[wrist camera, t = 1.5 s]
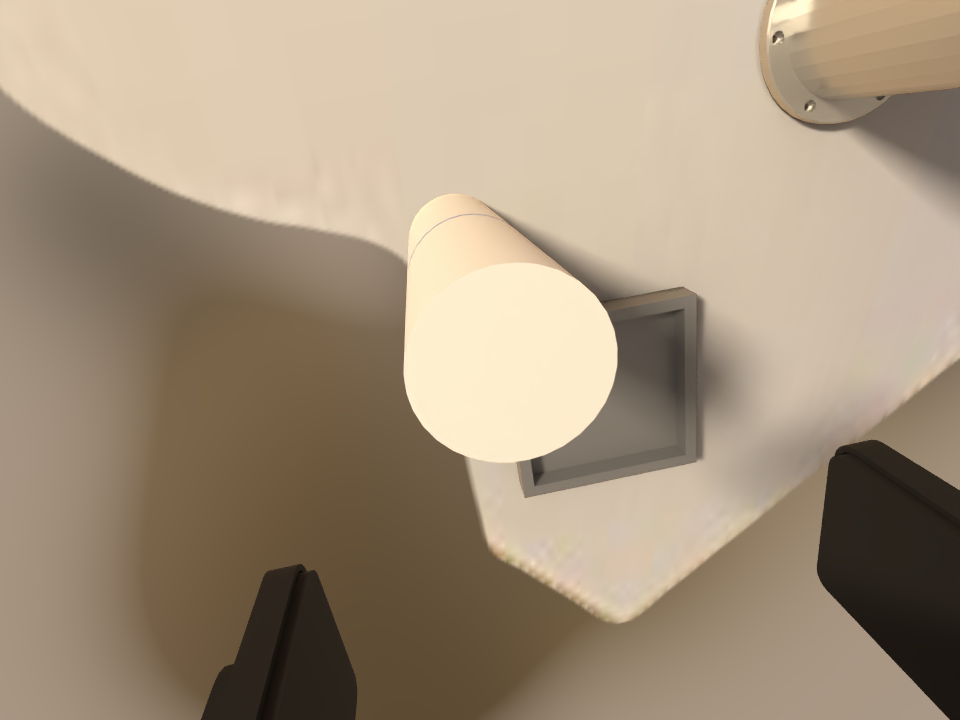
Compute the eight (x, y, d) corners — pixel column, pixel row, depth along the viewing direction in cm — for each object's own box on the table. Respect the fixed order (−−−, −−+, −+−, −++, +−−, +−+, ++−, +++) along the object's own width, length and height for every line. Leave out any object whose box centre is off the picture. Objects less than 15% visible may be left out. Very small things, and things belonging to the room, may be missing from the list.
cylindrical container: (493, 185, 39) (608, 241, 16) (508, 277, 42) (625, 438, 19) (398, 204, 39) (378, 288, 16) (420, 296, 42) (429, 481, 19)
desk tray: (682, 286, 44) (696, 294, 42) (683, 448, 50) (696, 461, 48) (494, 322, 43) (499, 332, 41) (519, 482, 49) (524, 498, 47)
